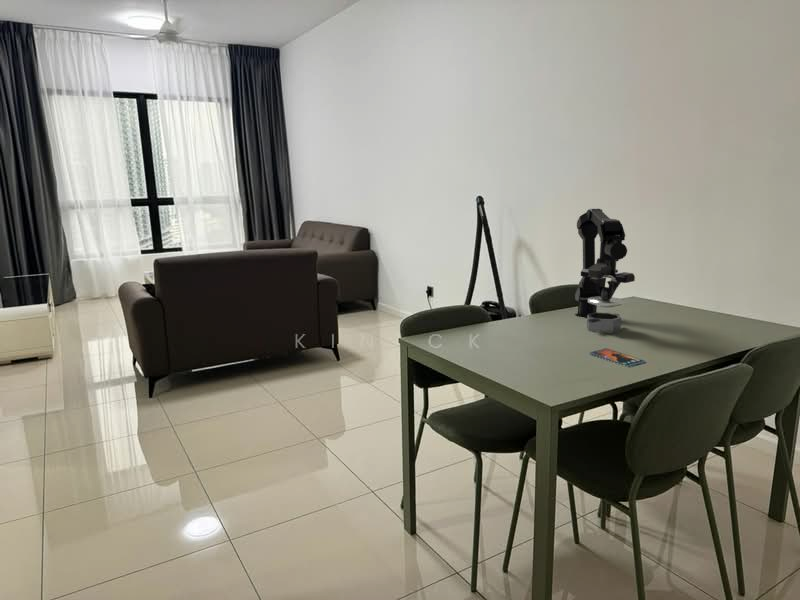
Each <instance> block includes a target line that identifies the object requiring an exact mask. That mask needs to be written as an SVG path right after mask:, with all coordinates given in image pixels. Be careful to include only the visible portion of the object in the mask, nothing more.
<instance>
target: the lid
mask: <svg viewBox="0 0 800 600" xmlns="http://www.w3.org/2000/svg"><path fill="white" fill-rule="evenodd" d="M608 290H609V286H605V287H602V290H601V298H600V296H597V297H590V298H588V303H590V304H593V305H596V306H597V307H598V308H599V307H600V308H615V307H618V306H622V305H623V304H624V300H623V299H621V298H619V297H615V296H614V297H613V296H612V298H611V299H608Z"/></svg>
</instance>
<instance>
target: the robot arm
mask: <svg viewBox="0 0 800 600" xmlns="http://www.w3.org/2000/svg"><path fill="white" fill-rule="evenodd" d="M576 221H577V222H576V229H577V231H578V232H577V234H578V235H579V237H580V238H581V240H582V269H581V270H580V277H581V278H580V280H579V282H578V286H577V288H576V291H575V294H574V300H575V301H577V302H578V303H577V312H576V313H575V314H574V315H575V316H579V317H583V318H587V315H588V314H591V313H597V309H598V306H596V305H593V304H590V303H588V298H590V297H597V296H600V298H601V290H602V287H606V283H607V284H608V287H609V290H608V299H611V298H612V297H613V296H614V294H615V292H616V290H617V289H618V287H619V286H620V284H621V283H622V284H627V283H628V284H629V283H632V282H635V281H636V277H635V274H634V273H633V272H628V271H627V272H626V271H625V272H619V269H617V262H619V260H622V259H624V258H625V257H626V256H627V254H628V248H627V246H626V245H625V244H624V243H623V241H625V240H626V233H625V230H624V229H625V228H624V226H623V224H622V222H621V220H619V219H617V218H610V217H609V216H608V215H607V214H605V212H603V209H601V208H590V209H589V208H588V209H587V211H586V212H584V213H583V214H581V215H580V216H579V217H578V219H577V220H576ZM597 236H598V237H599V241H600V247H599V258H597V259H596V237H597ZM607 279H610V280H608V281H607Z"/></svg>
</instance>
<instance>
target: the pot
mask: <svg viewBox="0 0 800 600" xmlns="http://www.w3.org/2000/svg"><path fill="white" fill-rule="evenodd" d="M586 319H587V320H586V329H587V330H588V331H589V332H593V333H598V334H615V333H619V332H621V330H622V329H621V328H622V317H621V316H620V313H611V312H596V313H591V314H588V315H587V317H586Z"/></svg>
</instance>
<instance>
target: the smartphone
mask: <svg viewBox="0 0 800 600" xmlns="http://www.w3.org/2000/svg"><path fill="white" fill-rule="evenodd" d="M590 354H591V356H593V355H594V357H596V356H597V358H599V357H600V358H599V359H602V358H603V360H605V359H606V360H605V361H608V360H609V361H608V362H611V361H612V362H611V363H614V362H615V364H617V363H618V365H620V364H621V365H620V366H623V365H625V366H624V367H626V366H628V367H627V368H631V367H630V366H632V367H635V366H638V365H639V364H640V365H643V364H647V361H646V360H643V359H640V358H637V357H634V356H630V355H628V354H626V353H624V352H623V353H622V352H619V351H616V350H613V349H611V348H607V347H605V348H602V349H597V350H594V351H590V352H589V355H590ZM642 363H643V364H642ZM637 364H638V365H637ZM634 365H635V366H634Z"/></svg>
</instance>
